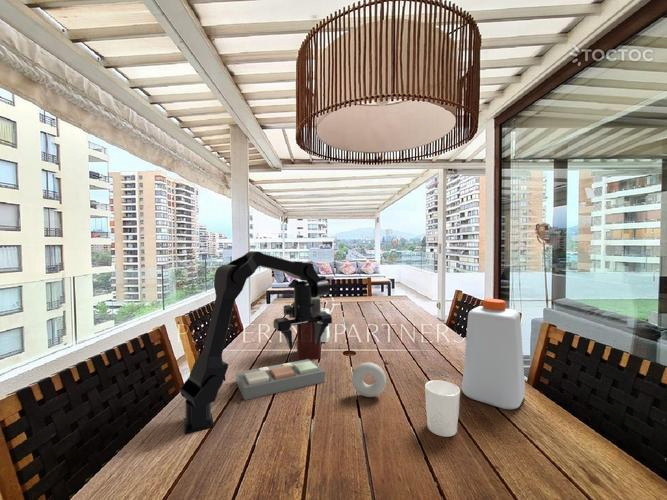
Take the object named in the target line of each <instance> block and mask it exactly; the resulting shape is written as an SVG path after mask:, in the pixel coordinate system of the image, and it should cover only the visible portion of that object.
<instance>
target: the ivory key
mask: <svg viewBox="0 0 667 500" xmlns="http://www.w3.org/2000/svg"><path fill="white" fill-rule="evenodd" d="M245 381H246V383H247V385H253V384H258V383H262V382H267V381H269V376H268V375H267V373H266V372H265V370H261V371H255V372H250V373H245Z"/></svg>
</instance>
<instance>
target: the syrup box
mask: <svg viewBox="0 0 667 500" xmlns="http://www.w3.org/2000/svg"><path fill="white" fill-rule="evenodd" d="M321 312H326V313H328V314H330V308H327V307H321ZM330 324H331V323H330ZM330 324H329V326H327V327H326V328H325V330H324V332H323V334H322V336H321V342H325V344H327V343H328V342H329V340H330V338H331V337H330V336H331V334H330V330H331V329H330Z"/></svg>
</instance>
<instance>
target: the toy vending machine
mask: <svg viewBox="0 0 667 500" xmlns="http://www.w3.org/2000/svg"><path fill="white" fill-rule="evenodd" d="M321 302H322V301H321V298H320V297H315V298H313V297H312V303H313V307H312V316H315V313H320V312H321V308H322V307H321V306H322V305H321V304H322V303H321ZM305 321H307V320H305ZM298 322H301V321H298ZM321 344H322V343H321V338H320V341H319V343H318V345H316V344H315V324H314V322H312V323H306V324H299V325H296V356H297V361H301V360H307V359H309V360H318V359H321V357H322V355H321V353H322V349H321V348H322V347H321V346H322V345H321Z"/></svg>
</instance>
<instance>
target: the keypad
mask: <svg viewBox="0 0 667 500" xmlns="http://www.w3.org/2000/svg"><path fill="white" fill-rule="evenodd" d="M308 361H311V359H303V360H297V361H291V362H286V363H281V364H280V363H279V364H276V365H269V366H263V367H259V368H254V369H249V370H243V371H237V372H235V377H236V378H235V382H236V384H237V385H236V386H238V387H237V388H238V389H239V391H240V393H241V395H242V398H243V400H244V401H248V400H252V399H256V398H259V397H266V396H270V395H273V394H278V393H283V392H287V391H291V390H296V389H300V388H304V387H308V386H313V385H318V384H322V383H325V370H324V369H323V368H322V367H320V366H319V365H318V364H317V363H315V362H314V361H311V362H312V363H313V364H315V365H316V366H317V367H318V371H315V372H310V373H306V374H301V375H300V374H299V373H298V372H297V371H296V370H295V369H294V364H298V363H303V362H308ZM287 365H288V366H289V367H290V368H291V369H292V370H293V371H294V376H291V377H286V378H282V379H277V380H275V379H274V378H273V377H272V375H271V374H270V369H271V368H277V367H282V366H287ZM261 370H265V372H266V373H267V375H268V376H269V381H267V382H262V383H258V384H253V385H247V383H246V381H245V373H250V372H255V371H261Z"/></svg>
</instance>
